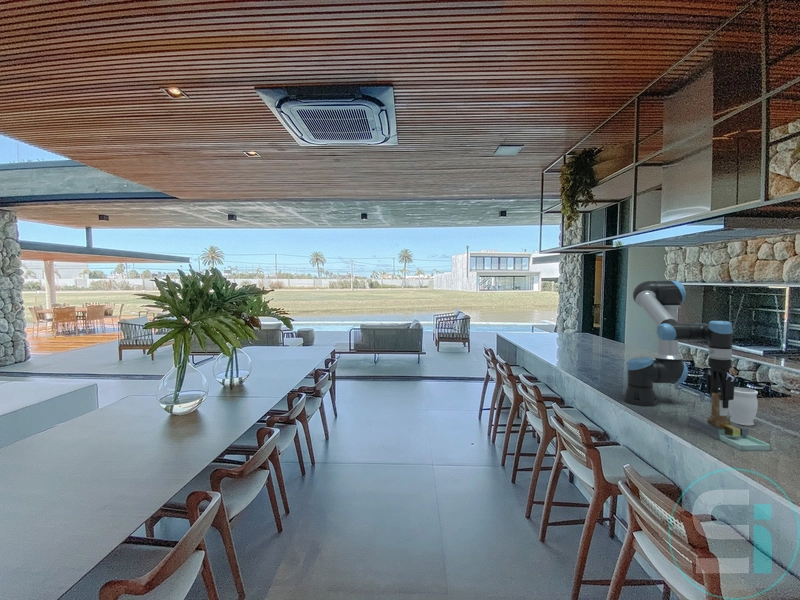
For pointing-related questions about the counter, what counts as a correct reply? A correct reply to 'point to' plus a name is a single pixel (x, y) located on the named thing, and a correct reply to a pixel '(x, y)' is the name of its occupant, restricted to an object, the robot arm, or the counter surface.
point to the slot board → (715, 428)
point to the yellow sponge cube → (732, 431)
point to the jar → (743, 406)
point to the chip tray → (746, 443)
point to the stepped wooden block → (717, 412)
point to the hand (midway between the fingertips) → (719, 413)
